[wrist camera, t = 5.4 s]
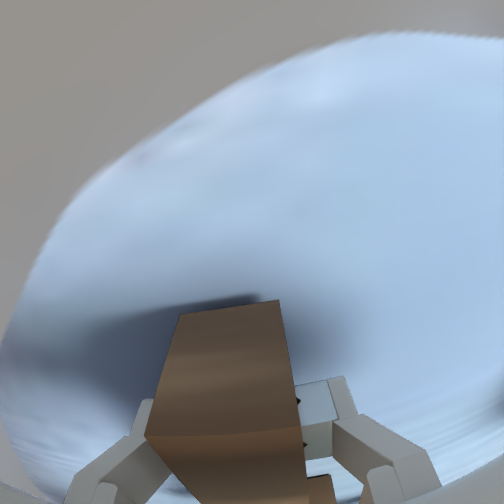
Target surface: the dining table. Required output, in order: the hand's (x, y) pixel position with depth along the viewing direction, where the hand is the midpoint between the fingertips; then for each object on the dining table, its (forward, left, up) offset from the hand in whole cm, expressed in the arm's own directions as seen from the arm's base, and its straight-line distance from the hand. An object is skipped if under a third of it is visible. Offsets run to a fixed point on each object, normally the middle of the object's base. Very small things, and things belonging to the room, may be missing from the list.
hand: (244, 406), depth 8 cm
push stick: (-4, 0, -2) cm, 5 cm away
